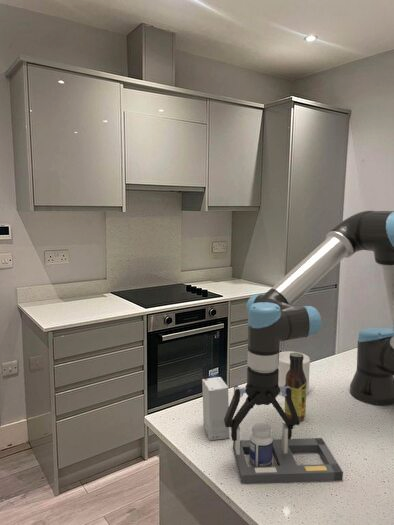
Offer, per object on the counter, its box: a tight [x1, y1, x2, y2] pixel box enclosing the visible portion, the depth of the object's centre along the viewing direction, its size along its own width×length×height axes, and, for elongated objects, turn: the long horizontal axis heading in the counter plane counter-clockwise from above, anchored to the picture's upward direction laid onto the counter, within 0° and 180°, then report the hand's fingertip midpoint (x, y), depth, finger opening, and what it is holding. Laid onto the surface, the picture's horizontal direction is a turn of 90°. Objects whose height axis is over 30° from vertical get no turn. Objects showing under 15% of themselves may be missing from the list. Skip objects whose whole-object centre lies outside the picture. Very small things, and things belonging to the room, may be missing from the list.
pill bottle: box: [248, 422, 274, 467], centre depth 101 cm, size 6×6×10 cm
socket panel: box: [232, 437, 344, 485], centre depth 101 cm, size 24×14×2 cm, turn 93°
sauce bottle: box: [284, 351, 307, 422], centre depth 122 cm, size 7×6×20 cm
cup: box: [278, 350, 311, 397], centre depth 141 cm, size 12×12×12 cm
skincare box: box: [201, 376, 231, 441], centre depth 115 cm, size 8×6×15 cm
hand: (260, 450), depth 101 cm, fingers open, 11 cm apart
